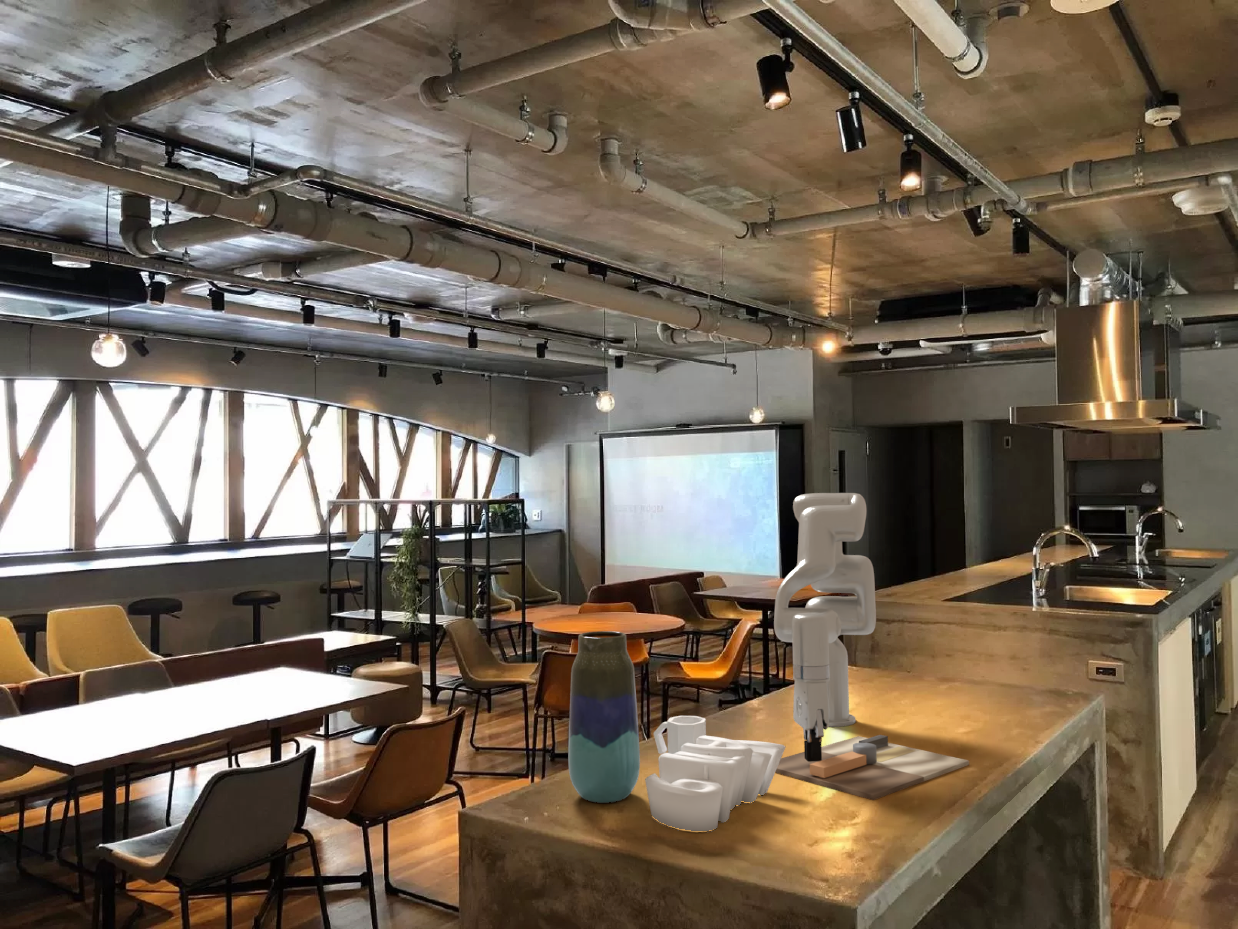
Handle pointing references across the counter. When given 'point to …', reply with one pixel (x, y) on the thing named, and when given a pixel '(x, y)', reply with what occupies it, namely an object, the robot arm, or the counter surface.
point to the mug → (680, 732)
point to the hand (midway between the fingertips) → (813, 760)
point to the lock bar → (845, 761)
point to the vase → (603, 719)
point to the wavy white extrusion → (710, 780)
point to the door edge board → (874, 768)
